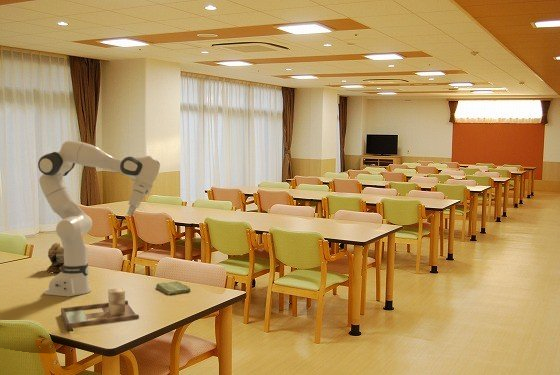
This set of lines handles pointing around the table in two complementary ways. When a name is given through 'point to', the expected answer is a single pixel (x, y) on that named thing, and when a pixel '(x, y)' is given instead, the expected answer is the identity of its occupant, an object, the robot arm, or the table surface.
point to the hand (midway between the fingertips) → (129, 215)
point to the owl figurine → (56, 258)
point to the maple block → (116, 301)
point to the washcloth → (172, 287)
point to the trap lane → (93, 315)
